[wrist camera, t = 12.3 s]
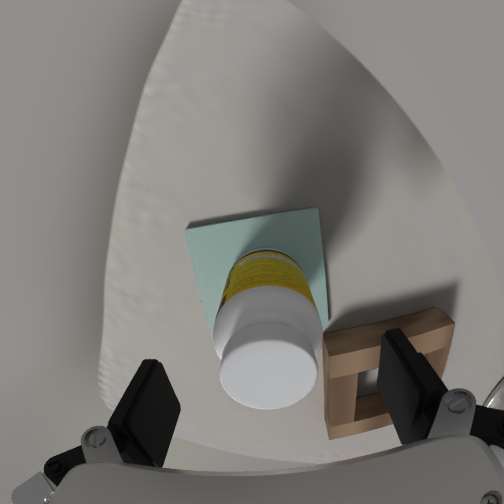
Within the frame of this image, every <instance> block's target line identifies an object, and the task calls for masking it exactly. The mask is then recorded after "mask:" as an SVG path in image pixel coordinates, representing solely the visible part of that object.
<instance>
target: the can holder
mask: <svg viewBox="0 0 504 504" xmlns="http://www.w3.org/2000/svg"><path fill="white" fill-rule="evenodd" d="M397 327H399V328H400V329H401V330H402V332H403V333H404V334H405V336H406V337H407V338H408V340H409V341H410V342H411V344H412V345H413V347H414V348H415V349H416V351H417V352H418V353H419V352H421V353H422V354H423V355H424V356H425V358H426V359H427V360H428V362H429V363H430V364H431V366H432V367H433V369H434V370H435V372H436V373H437V374H438V376H439V377H440V379H442V375H443V372H444V368H445V365H446V361H447V357H448V353H449V349H450V345H451V341H452V336H453V331H454V327H455V322H454V321H453V320H452V319H451V318H450V317H448V316H447V315H446V314H445V313H444V312H443V311H442V310H441V309H440V308H439V307H435V308H432V309H428V310H425V311H421V312H418V313H414V314H410V315H406V316H402V317H399V318H395V319H391V320H386V321H382V322H378V323H374V324H369V325H365V326H360V327H355V328H351V329H346V330H341V331H336V332H330V333H325V334H323V340H322V348H323V370H324V407H325V422H326V427H327V431H328V436H329V440H332V439H337V438H341V437H346V436H350V435H354V434H359V433H362V432H366V431H370V430H374V429H377V428H381V427H384V426H388V425H391V424H393V422H392V419H391V417H390V415H389V412H388V410H387V407H386V405H385V403H384V400H383V398H382V396H381V394H380V392H378V393H375V394H371V395H367V396H363V397H359V398H356V394H357V381H358V373H359V372H363V371H367V370H371V369H375V368H379V361H380V349H381V337H382V335H383V334H385V332H386V330H389V329H393V328H397Z"/></svg>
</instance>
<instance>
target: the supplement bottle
mask: <svg viewBox="0 0 504 504" xmlns="http://www.w3.org/2000/svg"><path fill="white" fill-rule="evenodd" d="M322 340H323V328H322V323H321V319H320V316H319V313H318V310H317V307H316V305H315V302H314V299H313V296H312V293H311V291H310V288H309V285H308V283H307V280H306V277H305V275H304V272H303V270H302V268H301V267H300V265H299V264H298V262H297V261H296V260H295V259H294V258H293V257H292V256H290V255H289V254H287V253H285V252H283V251H281V250H277V249H273V248H261V249H256V250H253V251H250V252H248V253H246V254H244V255H243V256H241V257H240V258H239V259H238V260H237V261H236V262H235V263H234V265H233V266H232V268H231V270H230V272H229V274H228V277H227V280H226V284H225V288H224V291H223V295H222V298H221V302H220V305H219V309H218V312H217V315H216V319H215V323H214V328H213V342H214V346H215V350H216V352H217V354H218V356H219V358H220V360H221V366H220V380H221V383H222V386H223V388H224V389H225V391H226V392H227V393H228V395H230V396H231V397H232V398H233V399H234V400H236V401H237V402H239V403H241V404H243V405H246V406H248V407H252V408H257V409H277V408H282V407H286V406H289V405H292V404H294V403H296V402H298V401H300V400H301V399H302V398H304V397H305V396H306V395H307V394H308V393H309V392H310V391H311V390H312V388H313V387H314V385H315V383H316V380H317V376H318V366H317V361H316V356H317V355H318V353H319V351H320V348H321V345H322Z"/></svg>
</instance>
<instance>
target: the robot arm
mask: <svg viewBox="0 0 504 504" xmlns="http://www.w3.org/2000/svg"><path fill="white" fill-rule="evenodd" d="M377 385H378V389H379V391H380V394H381V396H382V398H383V400H384V403H385V405H386V407H387V410H388V412H389V415H390V417H391V419H392V422H393V424H394V427H395V429H396V432H397V434H398V436H399V439H400V441H401V444H402V445H403V446H399V447H396V448H392V449H389V450H385V451H381V452H378V453H374V454H370V455H365V456H361V457H357V458H352V459H348V460H343V461H338V462H332V463H327V464H321V465H314V466H307V467H299V468H290V469H280V470H267V471H244V472H213V471H192V470H179V469H169V468H162V467H163V464H164V461H165V458H166V455H167V452H168V448H169V445H170V442H171V439H172V436H173V433H174V430H175V427H176V423H177V420H178V417H179V414H180V411H181V407H180V403H179V401H178V399H177V397H176V394H175V392H174V390H173V388H172V386H171V383H170V381H169V379H168V376H167V374H166V372H165V369H164V367H163V365H162V363H161V362H158V360H156V359H145V360H143V361H142V363H141V365H140V367H139V368H138V370H137V372H136V373H135V375H134V377H133V379H132V380H131V382H130V384H129V386H128V387H127V389H126V391H125V393H124V395H123V396H122V398H121V400H120V402H119V403H118V405H117V407H116V409H115V411H114V412H113V414H112V416H111V418H110V420H109V422H108V426H107V428H106V427H104V426H94V427H91V428H90V429H88V430H87V431H85V432H84V434H83V435H82V437H81V446H78V447H76V448H73V449H71V450H68V451H66V452H64V453H61V454H59V455H56V456H54V457H52V458H50V459H49V460H48V461H47V462H46V464H45V465H44V473H41V472H38V473H37V474H36V475H34V476H33V477H31V478H30V479H28V480H27V481H26V482H24V483H23V484H21V485H20V486H18V487H17V488H16V489H15V490H14V491H13V493H12V501H13V503H14V504H504V379H503V380H502V381H501V382H500V383H499V384H498V386H497V387H496V388H495V389H494V391H493V392H492V393H491V395H490V396H489V397H488V399H487V401H486V402H485V404H484V406H480V405H476V399H475V396H474V395H473V394H472V393H471V392H470V391H468V390H465V389H459V388H457V389H452V390H450V391H449V390H448V389H447V388H446V386H445V385H444V383H443V382H442V380H441V379H440V377H439V376H438V374H437V373H436V372H435V370H434V369H433V367H432V366H431V364H430V363H429V362H428V360H427V359H426V358H425V356H424V355H423V354H422V353H421V352H419V353H418V352H417V351H416V349H415V348H414V347H413V345H412V344H411V342H410V341H409V340H408V338H407V337H406V336H405V334H404V333H403V332H402V330H401V329H400V328H399V327H397V328H393V329H389V330H386V332H385V334H383V335H382V337H381V349H380V361H379V370H378V379H377ZM405 444H406V445H405Z"/></svg>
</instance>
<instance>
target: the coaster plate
mask: <svg viewBox="0 0 504 504" xmlns="http://www.w3.org/2000/svg"><path fill="white" fill-rule="evenodd" d="M185 235H186V239H187V244H188V248H189V252H190V256H191V261H192V265H193V269H194V273H195V277H196V281H197V285H198V289H199V292H200V296H201V300H202V304H203V308H204V311H205V315H206V319H207V322H208V326H209V329H210V333H211V336H212V340H213V328H214V323H215V319H216V315H217V312H218V309H219V305H220V302H221V298H222V295H223V291H224V288H225V284H226V280H227V277H228V274H229V272H230V270H231V268H232V266H233V265H234V263H235V262H236V261H237V260H238V259H239V258H240V257H241V256H243V255H244V254H246V253H248V252H250V251H253V250H256V249H261V248H273V249H277V250H281V251H283V252H285V253H287V254H289V255H290V256H292V257H293V258H294V259H295V260H296V261H297V262H298V264H299V265H300V267H301V268H302V270H303V272H304V275H305V277H306V280H307V283H308V285H309V288H310V291H311V293H312V296H313V299H314V302H315V305H316V307H317V310H318V313H319V316H320V319H321V323H322V327H325V326H329V324H328V306H327V292H326V278H325V267H324V256H323V246H322V236H321V227H320V218H319V210H318V208H317V207H314V208H307V209H300V210H294V211H287V212H281V213H274V214H268V215H261V216H255V217H249V218H243V219H237V220H231V221H225V222H220V223H214V224H208V225H203V226H197V227H192V228H186V229H185Z"/></svg>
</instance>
